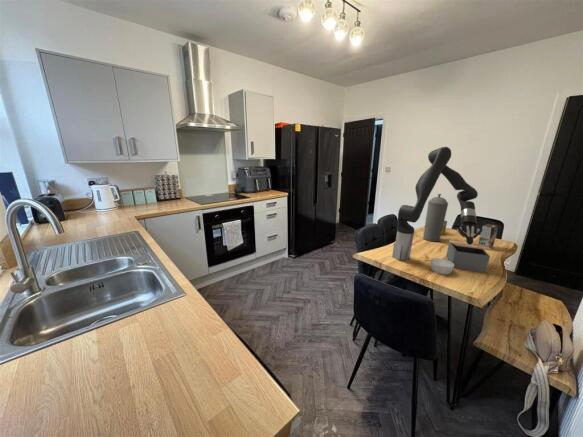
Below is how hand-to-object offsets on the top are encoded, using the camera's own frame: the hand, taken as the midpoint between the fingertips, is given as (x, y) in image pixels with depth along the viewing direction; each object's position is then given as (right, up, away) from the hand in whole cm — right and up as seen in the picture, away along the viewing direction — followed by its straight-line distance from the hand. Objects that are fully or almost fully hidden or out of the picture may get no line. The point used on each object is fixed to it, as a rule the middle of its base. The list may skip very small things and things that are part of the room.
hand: (470, 243), depth 136 cm
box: (0, -13, +5) cm, 13 cm away
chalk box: (+16, +2, +58) cm, 60 cm away
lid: (+1, -1, +2) cm, 2 cm away
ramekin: (-19, -15, -3) cm, 24 cm away
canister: (+4, -1, +44) cm, 45 cm away
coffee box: (+34, -6, +30) cm, 46 cm away
